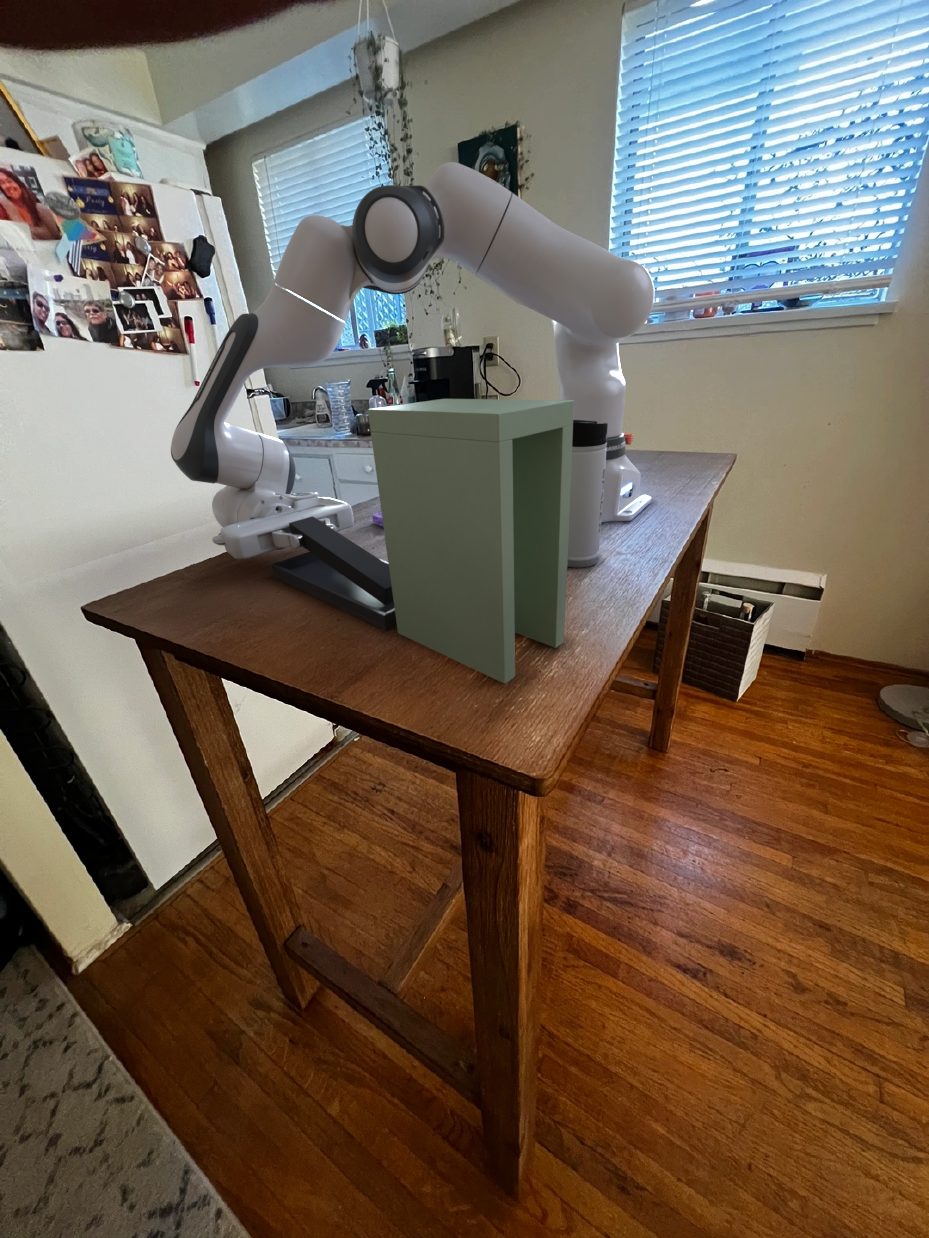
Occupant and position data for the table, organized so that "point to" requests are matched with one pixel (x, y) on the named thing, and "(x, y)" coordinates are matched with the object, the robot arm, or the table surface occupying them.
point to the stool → (476, 523)
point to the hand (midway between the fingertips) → (317, 536)
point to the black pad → (346, 558)
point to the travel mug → (586, 492)
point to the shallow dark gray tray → (334, 589)
